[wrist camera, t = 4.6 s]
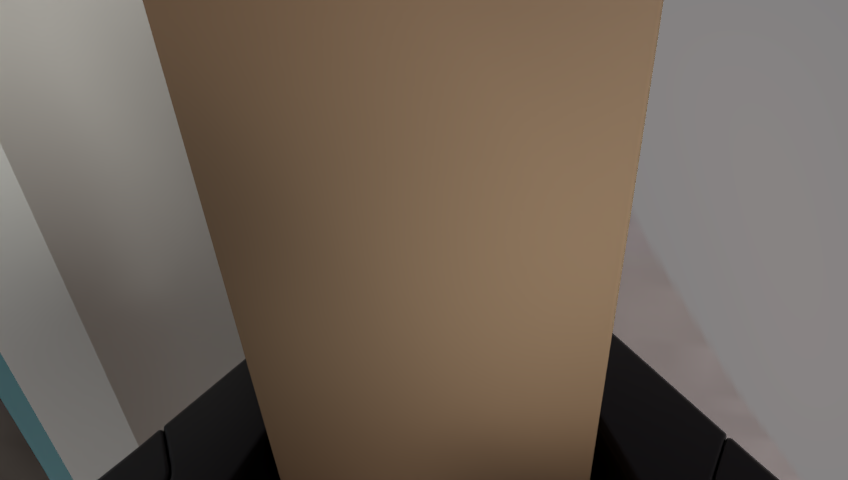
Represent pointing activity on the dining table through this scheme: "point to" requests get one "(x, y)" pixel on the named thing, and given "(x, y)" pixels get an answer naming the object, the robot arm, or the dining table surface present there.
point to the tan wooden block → (417, 219)
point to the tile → (99, 240)
